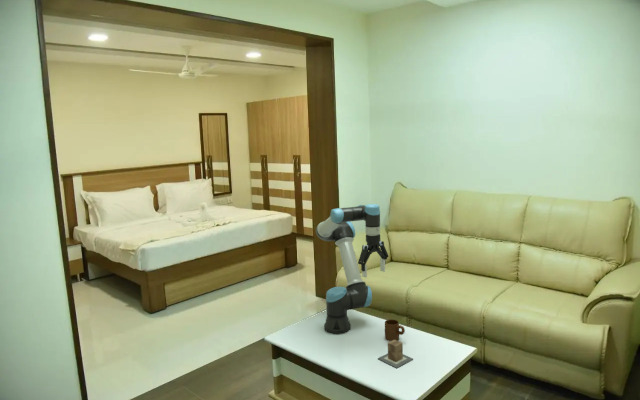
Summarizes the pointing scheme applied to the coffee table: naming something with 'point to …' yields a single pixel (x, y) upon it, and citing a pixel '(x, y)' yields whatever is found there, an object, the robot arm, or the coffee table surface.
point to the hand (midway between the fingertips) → (373, 274)
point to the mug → (393, 330)
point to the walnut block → (395, 350)
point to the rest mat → (393, 363)
